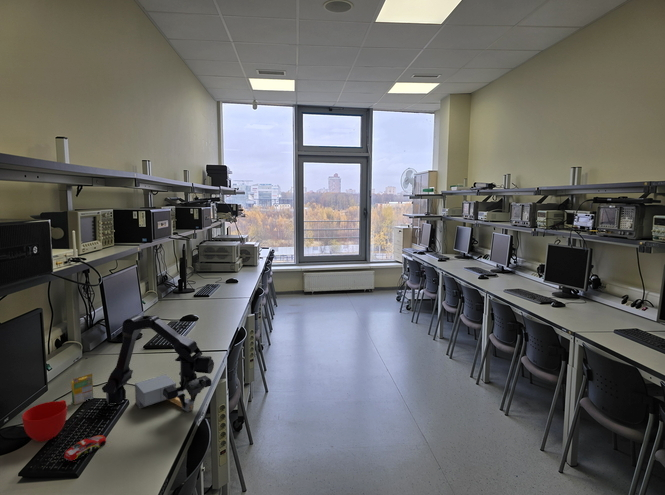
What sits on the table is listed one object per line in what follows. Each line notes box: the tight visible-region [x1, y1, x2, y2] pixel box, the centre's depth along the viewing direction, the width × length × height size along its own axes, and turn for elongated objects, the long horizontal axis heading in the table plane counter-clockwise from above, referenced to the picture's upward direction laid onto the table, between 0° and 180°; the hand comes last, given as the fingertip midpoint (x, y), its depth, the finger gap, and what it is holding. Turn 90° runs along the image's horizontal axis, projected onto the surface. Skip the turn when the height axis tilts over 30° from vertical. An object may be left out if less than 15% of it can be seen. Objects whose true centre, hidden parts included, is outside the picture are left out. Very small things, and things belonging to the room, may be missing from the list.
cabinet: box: [134, 374, 177, 409], centre depth 163 cm, size 13×11×9 cm
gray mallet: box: [166, 397, 195, 413], centre depth 162 cm, size 3×15×4 cm, turn 58°
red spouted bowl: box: [21, 399, 68, 443], centre depth 140 cm, size 13×17×10 cm
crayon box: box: [70, 373, 94, 406], centre depth 163 cm, size 7×3×12 cm, turn 141°
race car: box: [63, 434, 107, 462], centre depth 132 cm, size 13×5×4 cm, turn 154°
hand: (188, 406), depth 159 cm, fingers closed on gray mallet, 3 cm apart
